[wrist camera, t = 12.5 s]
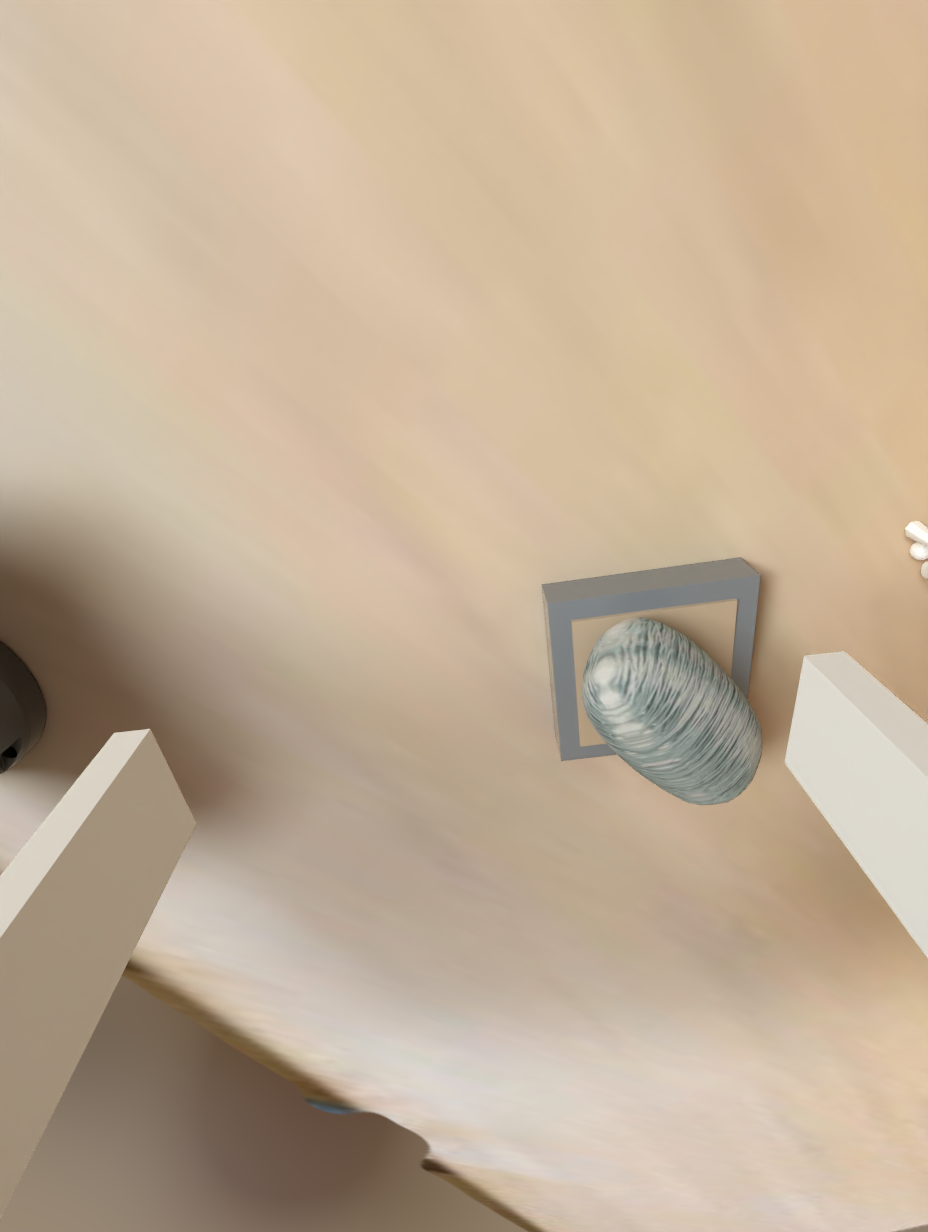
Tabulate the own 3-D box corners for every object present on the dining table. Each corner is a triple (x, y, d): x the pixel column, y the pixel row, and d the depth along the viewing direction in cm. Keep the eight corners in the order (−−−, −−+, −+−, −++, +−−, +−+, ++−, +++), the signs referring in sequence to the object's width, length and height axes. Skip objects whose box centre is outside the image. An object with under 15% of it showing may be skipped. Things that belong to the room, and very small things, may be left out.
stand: (555, 735, 48) (561, 763, 45) (541, 584, 41) (548, 605, 38) (727, 715, 47) (744, 742, 44) (740, 557, 40) (762, 576, 37)
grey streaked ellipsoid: (802, 728, 39) (789, 842, 32) (676, 751, 46) (641, 851, 39) (700, 564, 37) (660, 648, 30) (582, 614, 43) (527, 693, 36)
